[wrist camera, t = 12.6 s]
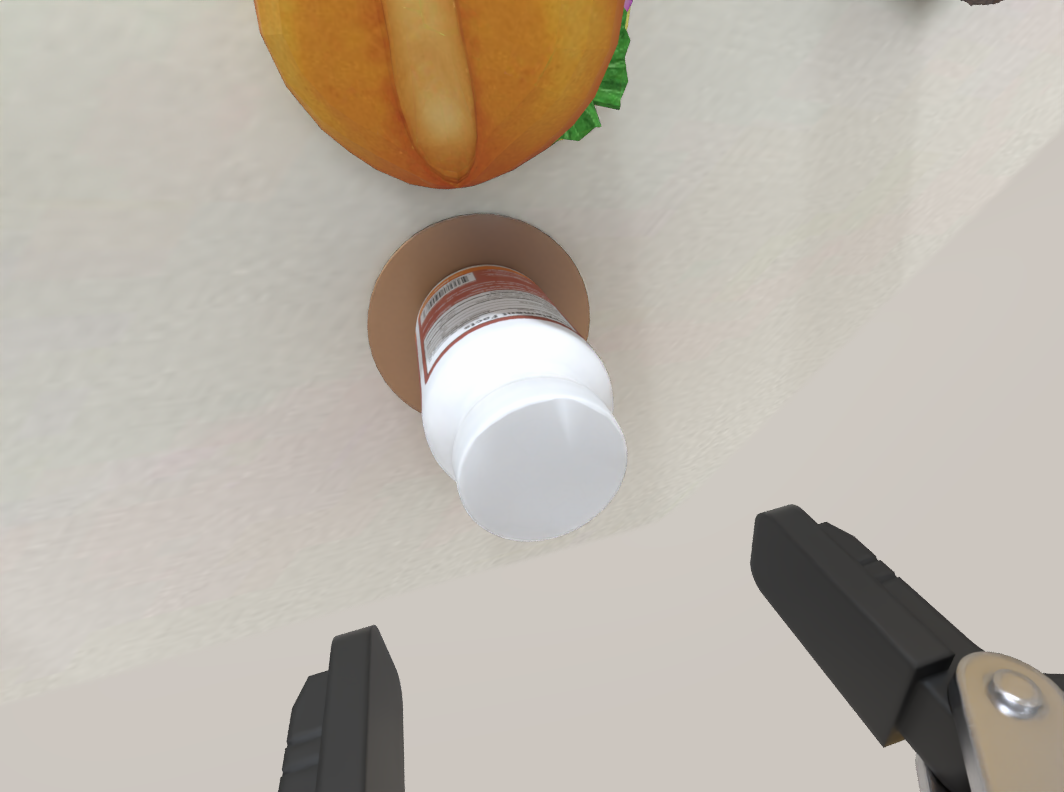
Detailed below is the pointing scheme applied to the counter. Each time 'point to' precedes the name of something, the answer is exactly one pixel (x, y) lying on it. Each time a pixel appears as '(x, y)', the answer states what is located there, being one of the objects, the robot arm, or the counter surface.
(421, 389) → the pill bottle
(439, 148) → the cheeseburger
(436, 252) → the coaster
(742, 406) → the counter surface
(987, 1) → the perforated stone tool
